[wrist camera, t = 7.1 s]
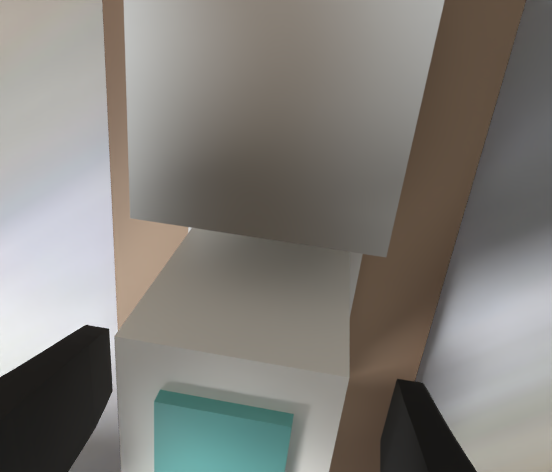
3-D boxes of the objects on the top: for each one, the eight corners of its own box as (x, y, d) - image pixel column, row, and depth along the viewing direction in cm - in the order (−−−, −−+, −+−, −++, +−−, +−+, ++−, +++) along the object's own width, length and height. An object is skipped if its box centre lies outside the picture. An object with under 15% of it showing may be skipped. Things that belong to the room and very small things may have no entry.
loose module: (349, 228, 13) (349, 390, 8) (318, 394, 16) (301, 606, 10) (207, 207, 14) (106, 347, 8) (199, 373, 16) (119, 567, 11)
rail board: (553, -143, 11) (727, -270, 6) (359, 544, 21) (362, 707, 16) (113, -181, 11) (-66, -321, 7) (135, 499, 22) (73, 642, 17)
